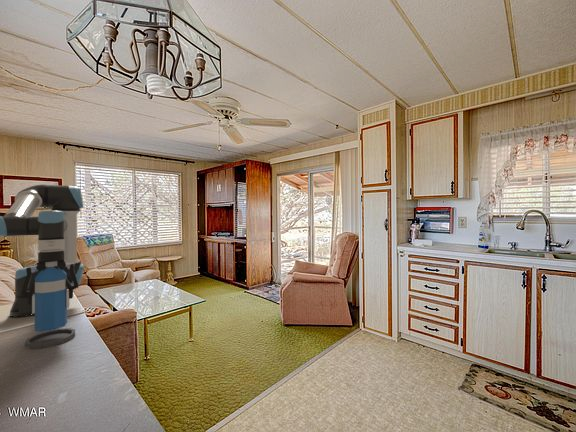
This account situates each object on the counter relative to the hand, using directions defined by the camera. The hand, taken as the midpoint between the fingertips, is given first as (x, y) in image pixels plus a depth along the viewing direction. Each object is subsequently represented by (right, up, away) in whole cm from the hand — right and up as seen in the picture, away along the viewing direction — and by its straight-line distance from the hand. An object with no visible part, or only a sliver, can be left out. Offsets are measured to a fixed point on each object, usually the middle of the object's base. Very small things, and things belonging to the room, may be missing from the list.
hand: (51, 309), depth 101 cm
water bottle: (0, -7, 0) cm, 7 cm away
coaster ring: (0, -11, 0) cm, 11 cm away
